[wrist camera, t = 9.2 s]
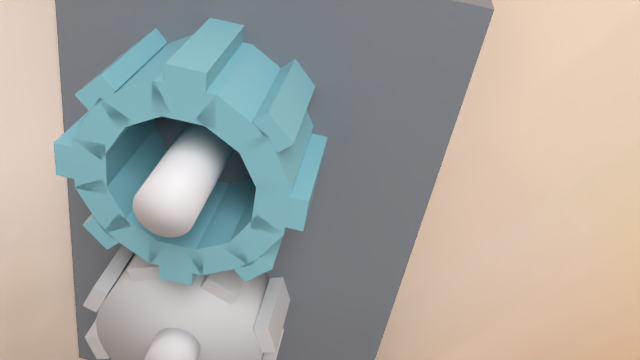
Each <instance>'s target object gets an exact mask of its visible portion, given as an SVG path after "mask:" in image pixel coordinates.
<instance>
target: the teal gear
mask: <svg viewBox="0 0 640 360" xmlns="http://www.w3.org/2000/svg"><path fill="white" fill-rule="evenodd" d="M244 27H245V25H241V24H237V23H232V22H227V21H223V20H218V19H214V18H209V19H208V20H207V21H206V22H205V23H204V24H203V25H202V26H201V27H200V28H199V29H198V30H197V31H196V32H195V33H194V34H193V35H191V36H188V37H185V38H182V39H179V40H176V41H173V42H170V43H167V41H166V40H165V38H164V37H163V36H162V35H161V33H160V32H159V31H158V30H157V28H155V29H154V30H153V31H151V32H150V33H149V34H147V35H146V36H145V37H143V38H142V39H141V40H139V41H138V42H137V43H135V44H134V45H133V46H131V47H130V48H129V49H128V50H127V51H126V52H124V53H123V54H122V55H121V56H120V57H118V58H117V59H116V60H115V61H114V62H113V63H111V64H110V65H109V66H108V67H107V68H105V69H104V70H103V71H102V72H101V73H99V74H98V75H97V76H96V77H95V78H94V79H92V80H91V81H90V82H89V83H88V84H86V85H85V86H84V87H83V88H82V89H81V90H79V91H78V92H77V93H76V94H75V96H76V97H77V98H78V99H79V101H80V102H81V103H82V104H83V105H84V106H85V107H86V108H87V109H88V110H89V111H88V112H87V113H86V114H84V115H83V116H82V117H81V118H80V119H79V120H78V121H77V122H76V123H75V124H74V125H73V126H72V127H70V128H69V129H68V130H67V131H66V132H65V133H64V134H63V135H62V136H61V137H60V138H59V139H58V140H56V141H55V142H54V153H55V164H56V175H59V176H64V177H68V178H72V179H74V181H75V188H76V190H77V191H78V193H79V194H80V196H81V198H82V199H83V201H84V202H85V204H86V205H87V207H88V208H89V210H90V211H91V213H92V214H91V215H90V216H89V217H88V219H87V220H86V221H85V222H84V224H83V226H84V227H85V228H86V229H87V230H88V231H89V232H90V233H91V234H92V235H93V236H94V237H95V238H96V239H97V240H98V241H99V242H100V243H101V244H102V245H103V246H104V247H105V248H106V249H109V248H111V247H113V246H114V245H116V244H118V243H121V244H122V245H123V246H125V247H126V248H128V249H129V250H131V251H132V252H134V253H135V254H137V255H138V256H140V257H141V258H142V259H144V260H145V261H147V262H148V263H150V264H155V265H159V278H160V279H164V280H169V281H173V282H177V283H181V284H186V285H190V286H192V284H193V282H194V280H195V278H196V275H197V274H198V275H201V276H203V275H207V274H212V273H217V272H222V271H227V270H232V269H234V270H235V271H236V272H237V273H238V275H239V276H240V277H241V278H242V279H243V280H244V281H245V282H246V281H248V280H250V279H252V278H254V277H257V276H259V275H261V274H263V273H265V272H267V271H269V270H272V268H273V265H274V262H275V259H276V256H277V253H278V250H279V247H280V244H281V241H282V238H283V235H284V233H285V230H286V228H291V229H295V230H299V231H303V230H304V227H305V223H306V220H307V216H308V213H309V209H310V205H311V202H312V198H313V195H314V191H315V188H316V184H317V181H318V177H319V174H320V170H321V166H322V162H323V157H324V153H325V148H326V143H327V138H328V137H325V136H321V135H316V134H312V129H313V124H312V121H311V119H310V117H309V114H308V112H307V107H308V105H309V102H310V99H311V97H312V94H313V91H314V89H315V85H314V84H313V82H312V81H311V80H310V78H309V77H308V75H307V74H306V73H305V71H304V70H303V69H302V67H301V66H300V64H299V63H298V62H297V60H296V59H294V60H292V61H291V62H289V63H288V64H286V65H284V66H283V67H281V68H280V67H279V66H278V65H277V64H275V63H274V62H273V61H272V60H271V59H269V58H268V57H267V56H266V55H265V54H263V53H262V52H261V51H260V50H259V49H257V48H256V47H255V46H254V45H253V44H249V43H244V42H243V36H244ZM166 43H167V44H166ZM161 116H163V117H167V118H172V119H176V120H181V121H185V122H189V123H194V124H198V125H203V126H205V127H207V128H208V129H209V130H210V131H212V132H213V133H214V134H216V135H217V136H218V137H220V138H221V139H222V140H223V141H225V142H226V143H227V144H229V145H230V146H231V147H232V148H234V149H235V150H236V151H238V152H239V153H240V155H241V157H242V159H243V162H244V164H245V166H246V168H247V170H248V172H249V174H250V176H251V178H249V179H245V180H241V181H237V182H233V183H226V182H221V181H217V182H216V184H215V186H214V188H213V190H212V192H211V193H210V195H209V197H208V199H207V201H206V203H205V204H204V206H203V208H202V210H201V212H200V214H199V215H198V217H197V219H196V221H195V223H194V225H193V227H192V228H191V229H190V231H189V232H187V233H186V234H184V235H182V236H179V237H171V238H170V237H163V236H159V235H157V234H154V233H152V232H150V231H149V230H147V229H146V228H145V227H144V226H143V225H142V224H141V223H140V222H139V221H138V219H137V218H136V216H135V214H134V211H133V199H134V196H135V195H136V193H137V192H138V190H139V189H140V188H141V186H142V185H143V184H144V182H145V181H146V179H147V178H148V177H149V175H150V174H151V173H152V171H153V170H154V169H155V167H156V166H157V164H158V163H159V162H160V160H161V159H162V158H163V156H164V155H165V154H166V152H167V151H168V150H167V148H166V146H165V144H164V143H163V141H162V139H161V137H160V135H159V133H158V132H157V130H156V118H158V117H161Z"/></svg>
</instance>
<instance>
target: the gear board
mask: <svg viewBox="0 0 640 360" xmlns="http://www.w3.org/2000/svg"><path fill="white" fill-rule="evenodd" d="M55 3H56V18H57V33H58V48H59V63H60V78H61V93H62V108H63V123H64V133H65V132H66V131H67V130H68V129H69V128H70V127H72V126H73V125H74V124H75V123H76V122H77V121H78V120H79V119H80V118H81V117H82V116H83V115H84V114H86V113H87V112H88V111H89V110H88V109H87V108H86V107H85V106H84V105H83V104H82V103H81V102H80V101H79V99H78V98H77V97H76V96H75V94H76V93H77V92H78V91H79V90H81V89H82V88H83V87H84V86H85V85H86V84H88V83H89V82H90V81H91V80H92V79H94V78H95V77H96V76H97V75H98V74H99V73H101V72H102V71H103V70H104V69H105V68H107V67H108V66H109V65H110V64H111V63H113V62H114V61H115V60H116V59H117V58H118V57H120V56H121V55H122V54H123V53H124V52H126V51H127V50H128V49H129V48H130V47H131V46H133V45H134V44H135V43H137V42H138V41H139V40H141V39H142V38H143V37H145V36H146V35H147V34H149V33H150V32H151V31H153V30H154V29H155V28H157V30H158V31H159V32H160V33H161V35H162V36H163V37H164V38H165V40H166V41H167V43H170V42H173V41H176V40H179V39H182V38H185V37H188V36H191V35H193V34H194V33H195V32H196V31H197V30H198V29H199V28H200V27H201V26H202V25H203V24H204V23H205V22H206V21H207V20H208V19H209V18H214V19H218V20H223V21H227V22H232V23H237V24H241V25H245V27H244V36H243V42H244V43H249V44H253V45H254V46H255V47H256V48H257V49H259V50H260V51H261V52H262V53H263V54H265V55H266V56H267V57H268V58H269V59H271V60H272V61H273V62H274V63H275V64H277V65H278V66H279V67H280V68H281V67H283V66H284V65H286V64H288V63H289V62H291V61H292V60H294V59H296V60H297V62H298V63H299V64H300V66H301V67H302V69H303V70H304V71H305V73H306V74H307V75H308V77H309V78H310V80H311V81H312V82H313V84H314V85H315V89H314V91H313V94H312V97H311V99H310V102H309V105H308V107H307V112H308V114H309V117H310V119H311V121H312V124H313V129H312V134H316V135H321V136H325V137H328V138H327V143H326V148H325V153H324V157H323V162H322V166H321V170H320V174H319V177H318V181H317V184H316V188H315V191H314V195H313V198H312V202H311V205H310V209H309V213H308V216H307V220H306V223H305V227H304V230H303V231H299V230H295V229H291V228H286V230H285V233H284V235H283V238H282V241H281V244H280V247H279V250H278V253H277V256H276V259H275V262H274V265H273V268H272V270H269V271H267V272H265V273H263V274H261V275H259V276H257V277H254V278H252V279H250V280H248V281H246V282H245V281H244V280H243V279H242V278H241V277H240V276H239V275H238V273H237V272H236V271H235V270H234V269H232V270H227V271H222V272H217V273H212V274H207V275H203V276H201V275H198V274H197V275H196V278H195V280H194V282H193V284H192V286H190V285H186V284H181V283H177V282H173V281H169V280H164V279H160V278H159V265H155V264H150V263H148V262H147V261H145V260H144V259H142V258H141V257H140V256H138V255H137V254H135V253H134V252H132V251H131V250H129V249H128V248H126V247H125V246H123V245H122V244H121V243H118V244H116V245H114V246H113V247H111V248H109V249H106V248H105V247H104V246H103V245H102V244H101V243H100V242H99V241H98V240H97V239H96V238H95V237H94V236H93V235H92V234H91V233H90V232H89V231H88V230H87V229H86V228H85V227H84V226H83V224H84V222H85V221H86V220H87V219H88V217H89V216H90V215H91V214H92V213H91V211H90V210H89V208H88V207H87V205H86V204H85V202H84V201H83V199H82V198H81V196H80V194H79V193H78V191H77V190H76V188H75V181H74V179H72V178H68V177H67V183H68V198H69V213H70V228H71V242H72V257H73V272H74V287H75V302H76V317H77V332H78V347H79V358H83V359H87V360H375V357H376V354H377V351H378V348H379V345H380V342H381V339H382V336H383V333H384V331H385V328H386V325H387V322H388V319H389V316H390V313H391V310H392V307H393V304H394V301H395V298H396V295H397V292H398V290H399V287H400V284H401V281H402V278H403V275H404V272H405V269H406V266H407V263H408V260H409V257H410V254H411V252H412V249H413V246H414V243H415V240H416V237H417V234H418V231H419V228H420V225H421V222H422V219H423V216H424V213H425V211H426V208H427V205H428V202H429V199H430V196H431V193H432V190H433V187H434V184H435V181H436V178H437V175H438V172H439V170H440V167H441V164H442V161H443V158H444V155H445V152H446V149H447V146H448V143H449V140H450V137H451V134H452V131H453V129H454V126H455V123H456V120H457V117H458V114H459V111H460V108H461V105H462V102H463V99H464V96H465V93H466V90H467V88H468V85H469V82H470V79H471V76H472V73H473V70H474V67H475V64H476V61H477V58H478V55H479V52H480V50H481V47H482V44H483V41H484V38H485V35H486V32H487V29H488V26H489V23H490V20H491V17H492V14H493V11H494V7H493V4H492V1H491V0H55ZM167 43H166V44H167ZM156 130H157V132H158V133H159V135H160V137H161V139H162V141H163V143H164V144H165V146H166V148H167V150H168V151H167V152H166V154H165V155H164V156H163V158H162V159H161V160H160V162H159V163H158V164H157V166H156V167H155V169H154V170H153V171H152V173H151V174H150V175H149V177H148V178H147V179H146V181H145V182H144V184H143V185H142V186H141V188H140V189H139V190H138V192H137V193H136V195H135V196H134V199H133V211H134V214H135V216H136V218H137V219H138V221H139V222H140V223H141V224H142V225H143V226H144V227H145V228H146V229H147V230H149V231H150V232H152V233H154V234H157V235H159V236H163V237H170V238H171V237H179V236H182V235H184V234H186V233H187V232H189V231H190V229H191V228H192V227H193V225H194V223H195V221H196V219H197V217H198V215H199V214H200V212H201V210H202V208H203V206H204V204H205V203H206V201H207V199H208V197H209V195H210V193H211V192H212V190H213V188H214V186H215V184H216V182H217V181H221V182H226V183H233V182H237V181H241V180H245V179H249V178H251V176H250V174H249V172H248V170H247V168H246V166H245V164H244V162H243V159H242V157H241V155H240V153H239V152H238V151H236V150H235V149H234V148H232V147H231V146H230V145H229V144H227V143H226V142H225V141H223V140H222V139H221V138H220V137H218V136H217V135H216V134H214V133H213V132H212V131H210V130H209V129H208V128H207V127H205V126H203V125H198V124H194V123H189V122H185V121H181V120H176V119H172V118H167V117H163V116H161V117H158V118H156Z"/></svg>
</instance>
